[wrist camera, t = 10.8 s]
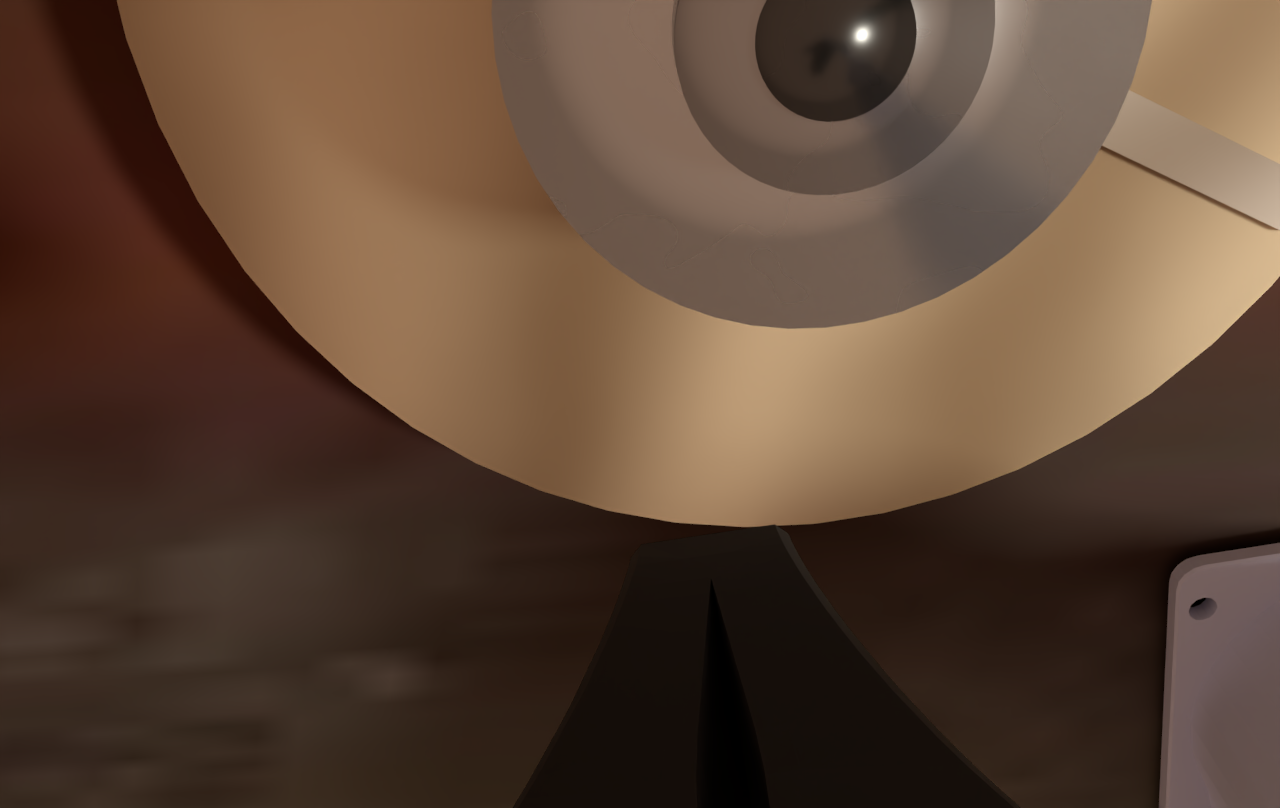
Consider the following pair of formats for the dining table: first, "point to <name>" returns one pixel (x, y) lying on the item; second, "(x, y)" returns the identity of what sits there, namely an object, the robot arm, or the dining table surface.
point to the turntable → (675, 335)
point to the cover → (811, 138)
